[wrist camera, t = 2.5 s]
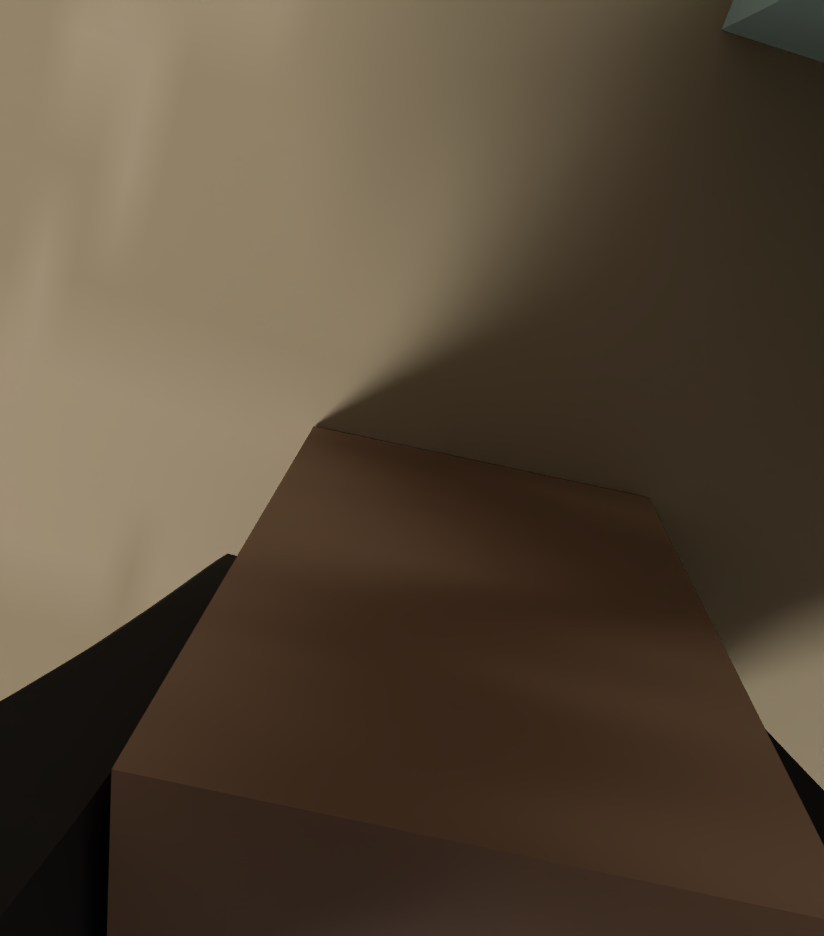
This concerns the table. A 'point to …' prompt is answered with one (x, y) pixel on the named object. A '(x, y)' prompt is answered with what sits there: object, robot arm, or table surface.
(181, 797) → the walnut block
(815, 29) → the base block
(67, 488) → the table surface
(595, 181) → the table surface
